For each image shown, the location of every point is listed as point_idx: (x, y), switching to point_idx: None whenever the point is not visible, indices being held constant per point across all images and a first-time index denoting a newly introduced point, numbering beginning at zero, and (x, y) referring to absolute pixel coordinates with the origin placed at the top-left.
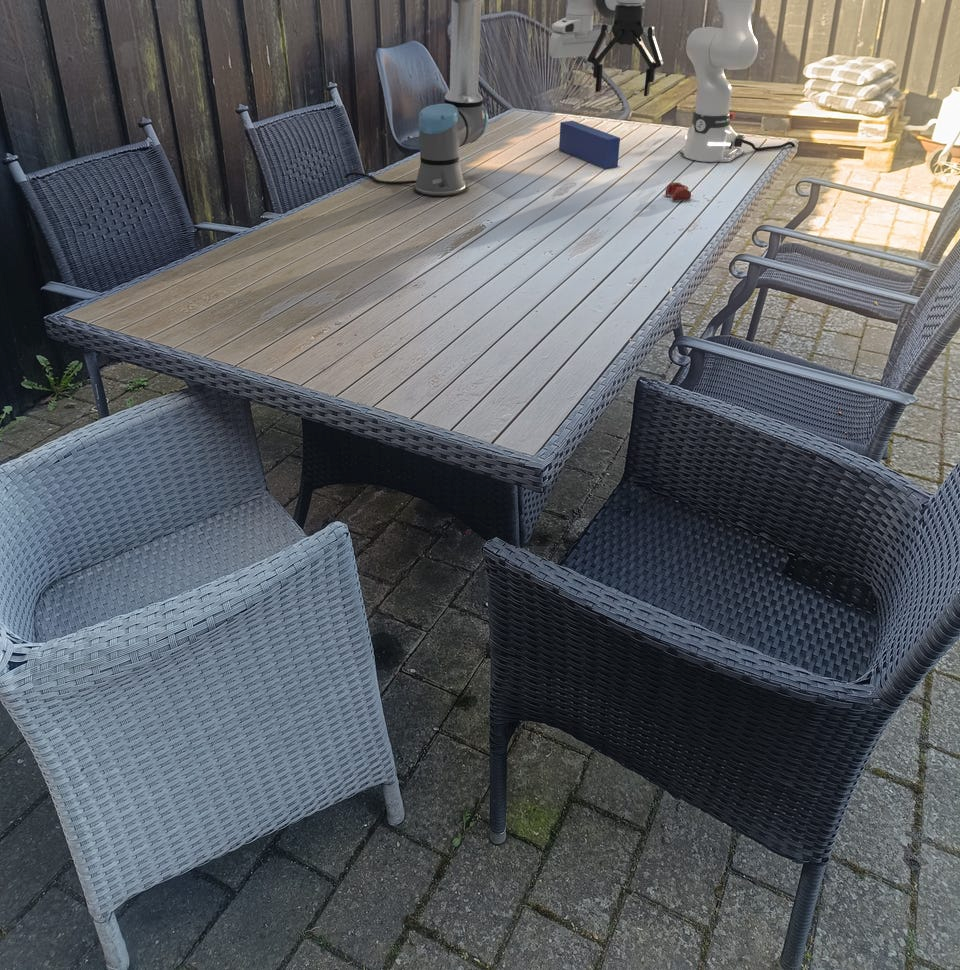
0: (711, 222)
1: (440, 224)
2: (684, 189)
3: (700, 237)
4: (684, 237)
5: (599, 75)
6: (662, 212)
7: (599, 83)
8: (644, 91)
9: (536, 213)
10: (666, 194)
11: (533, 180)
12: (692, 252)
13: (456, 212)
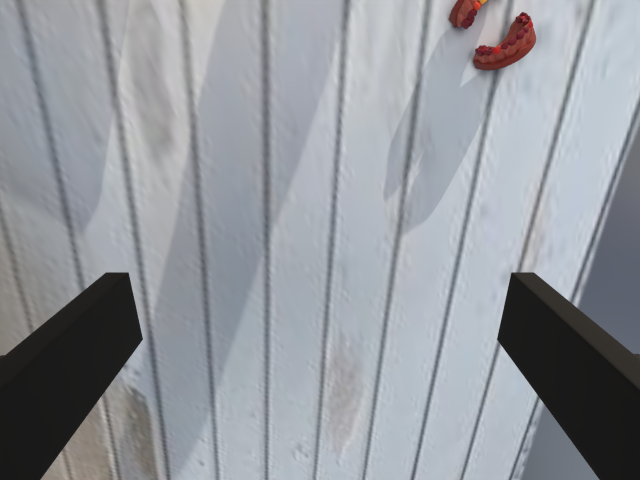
0: (577, 203)
1: None
2: (521, 57)
3: None
4: None
5: (66, 429)
6: (456, 177)
7: (107, 358)
8: (514, 359)
9: (186, 295)
10: (453, 23)
11: (19, 27)
12: None
13: None
